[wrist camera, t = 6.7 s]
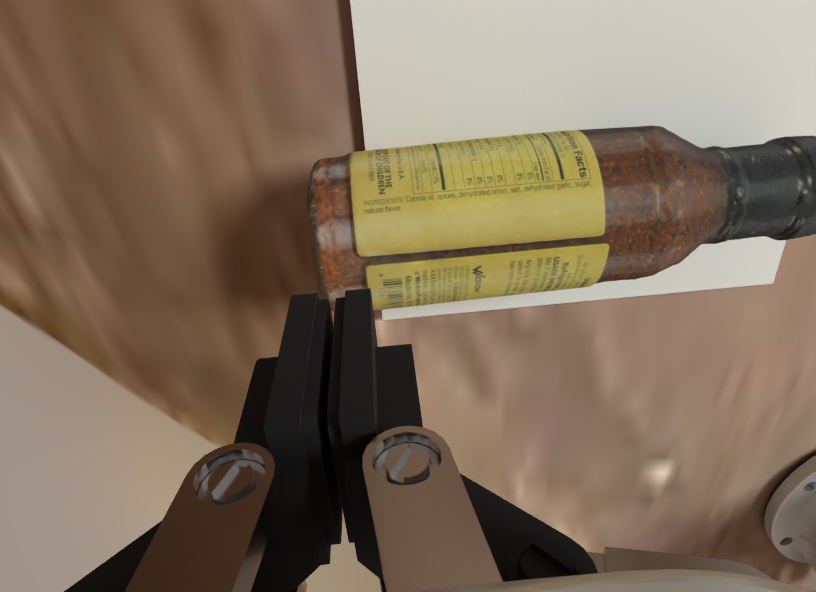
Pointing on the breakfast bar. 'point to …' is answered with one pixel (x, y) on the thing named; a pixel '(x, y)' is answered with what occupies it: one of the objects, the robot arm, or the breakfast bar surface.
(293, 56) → the breakfast bar surface
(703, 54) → the mat
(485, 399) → the breakfast bar surface
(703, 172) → the sauce bottle
